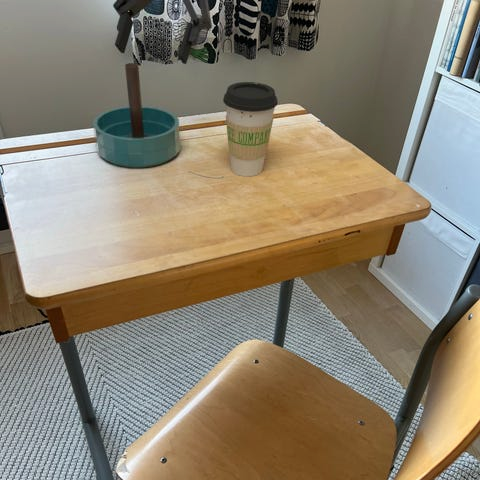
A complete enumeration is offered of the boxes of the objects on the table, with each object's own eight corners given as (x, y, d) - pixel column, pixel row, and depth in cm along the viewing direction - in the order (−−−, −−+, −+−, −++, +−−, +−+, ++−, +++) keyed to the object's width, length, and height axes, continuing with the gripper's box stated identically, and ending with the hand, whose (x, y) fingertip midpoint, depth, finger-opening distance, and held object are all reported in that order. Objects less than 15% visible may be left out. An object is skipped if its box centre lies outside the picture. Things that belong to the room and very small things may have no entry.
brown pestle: (119, 148, 103) (109, 65, 93) (137, 138, 107) (129, 58, 96) (141, 155, 101) (133, 72, 91) (158, 145, 105) (153, 64, 95)
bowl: (80, 154, 102) (74, 125, 98) (133, 127, 113) (131, 100, 109) (145, 177, 97) (143, 147, 92) (195, 147, 107) (195, 118, 103)
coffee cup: (214, 175, 98) (215, 94, 88) (231, 154, 105) (233, 77, 95) (263, 184, 96) (270, 103, 86) (277, 163, 103) (284, 85, 93)
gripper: (246, -29, 100) (214, 75, 100) (133, -43, 106) (103, 55, 105) (237, -60, 92) (203, 52, 92) (116, -72, 98) (84, 33, 98)
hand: (150, 54), depth 99 cm, fingers open, 13 cm apart
